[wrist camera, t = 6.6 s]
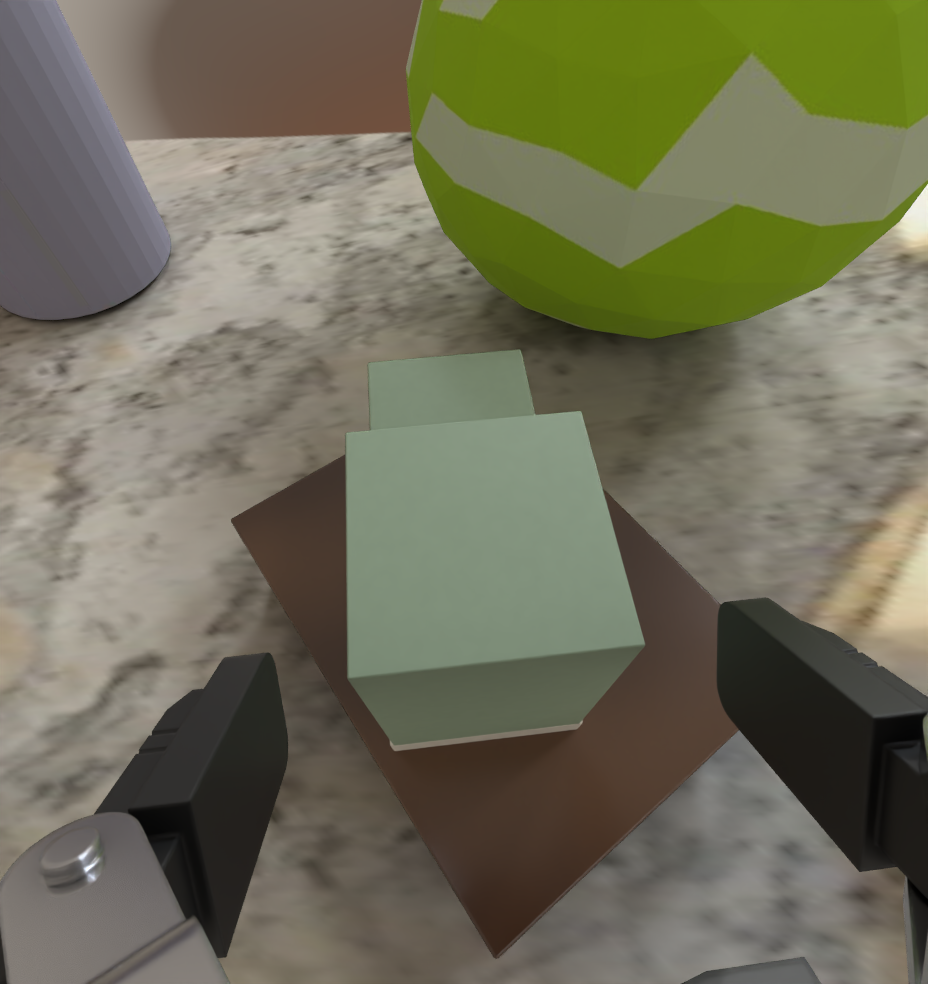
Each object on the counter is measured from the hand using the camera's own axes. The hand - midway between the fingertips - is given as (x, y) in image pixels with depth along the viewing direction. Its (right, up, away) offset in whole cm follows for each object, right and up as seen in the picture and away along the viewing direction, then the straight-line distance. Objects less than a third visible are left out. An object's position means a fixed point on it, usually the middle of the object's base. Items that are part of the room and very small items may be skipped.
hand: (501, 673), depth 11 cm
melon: (+9, +15, +24) cm, 30 cm away
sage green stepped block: (-1, +1, +10) cm, 10 cm away
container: (-23, +17, +25) cm, 38 cm away
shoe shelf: (0, -2, +13) cm, 13 cm away
